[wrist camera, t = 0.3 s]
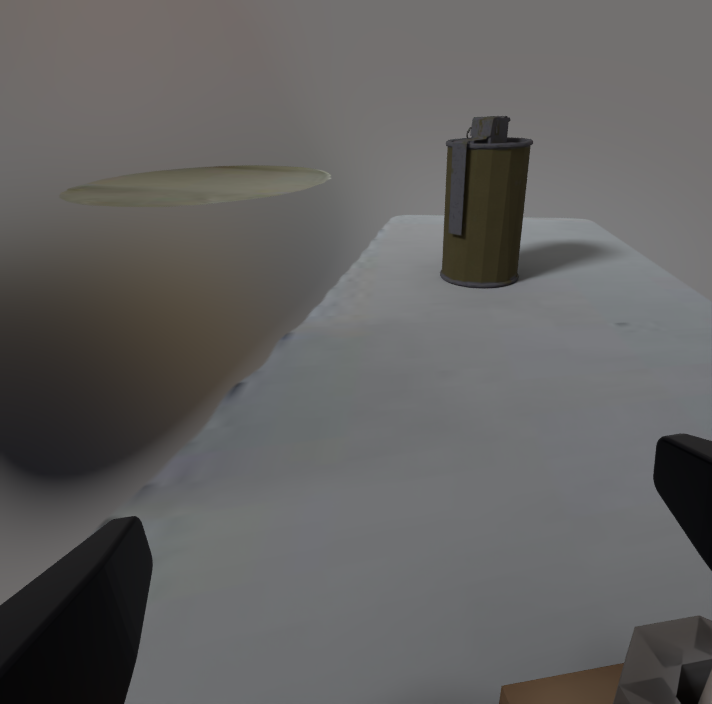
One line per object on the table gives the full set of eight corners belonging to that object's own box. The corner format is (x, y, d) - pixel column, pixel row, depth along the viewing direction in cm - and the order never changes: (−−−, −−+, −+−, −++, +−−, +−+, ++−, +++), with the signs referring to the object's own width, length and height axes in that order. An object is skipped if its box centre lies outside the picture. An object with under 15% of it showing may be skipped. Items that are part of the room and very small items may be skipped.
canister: (471, 261, 80) (481, 115, 71) (533, 276, 72) (553, 115, 64) (422, 277, 73) (426, 118, 65) (484, 294, 66) (499, 119, 58)
